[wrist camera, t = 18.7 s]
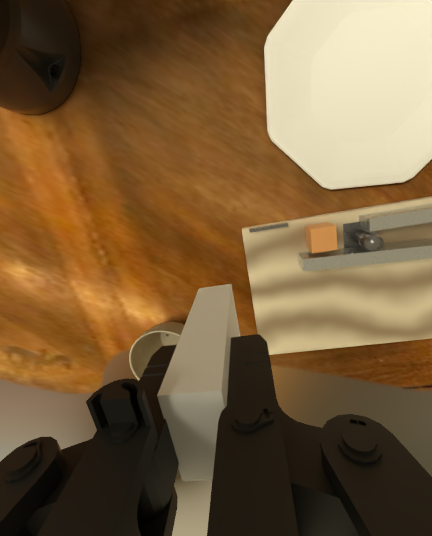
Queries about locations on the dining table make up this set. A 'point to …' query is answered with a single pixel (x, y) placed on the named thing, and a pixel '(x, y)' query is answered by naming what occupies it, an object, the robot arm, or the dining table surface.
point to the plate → (352, 89)
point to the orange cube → (321, 237)
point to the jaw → (366, 255)
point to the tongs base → (375, 225)
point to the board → (337, 288)
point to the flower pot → (153, 344)
